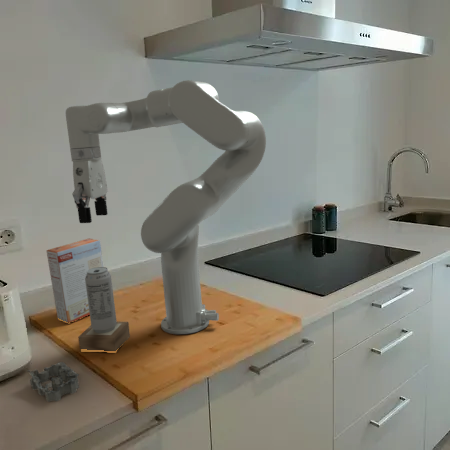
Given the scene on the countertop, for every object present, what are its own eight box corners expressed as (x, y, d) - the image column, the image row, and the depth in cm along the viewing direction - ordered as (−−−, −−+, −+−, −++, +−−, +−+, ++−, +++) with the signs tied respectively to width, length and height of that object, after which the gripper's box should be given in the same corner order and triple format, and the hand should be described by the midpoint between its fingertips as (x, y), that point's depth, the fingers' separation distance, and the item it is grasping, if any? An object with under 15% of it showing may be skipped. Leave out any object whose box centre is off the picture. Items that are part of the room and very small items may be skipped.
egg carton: (27, 387, 100) (24, 369, 99) (62, 372, 105) (59, 355, 104) (48, 406, 92) (44, 387, 92) (84, 390, 97) (81, 372, 96)
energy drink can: (119, 322, 119) (112, 265, 116) (113, 333, 113) (106, 273, 110) (96, 324, 119) (88, 267, 116) (88, 334, 113) (80, 274, 110)
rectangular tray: (130, 336, 120) (128, 321, 120) (115, 353, 112) (113, 337, 111) (97, 335, 122) (95, 320, 121) (80, 352, 114) (78, 336, 113)
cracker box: (97, 304, 144) (89, 237, 140) (109, 308, 140) (101, 239, 136) (56, 320, 134) (45, 248, 129) (68, 325, 130) (57, 251, 126)
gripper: (84, 156, 115) (92, 225, 119) (113, 151, 132) (119, 212, 135) (55, 158, 116) (65, 226, 120) (87, 152, 133) (95, 212, 137)
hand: (94, 218), depth 128 cm, fingers open, 9 cm apart
